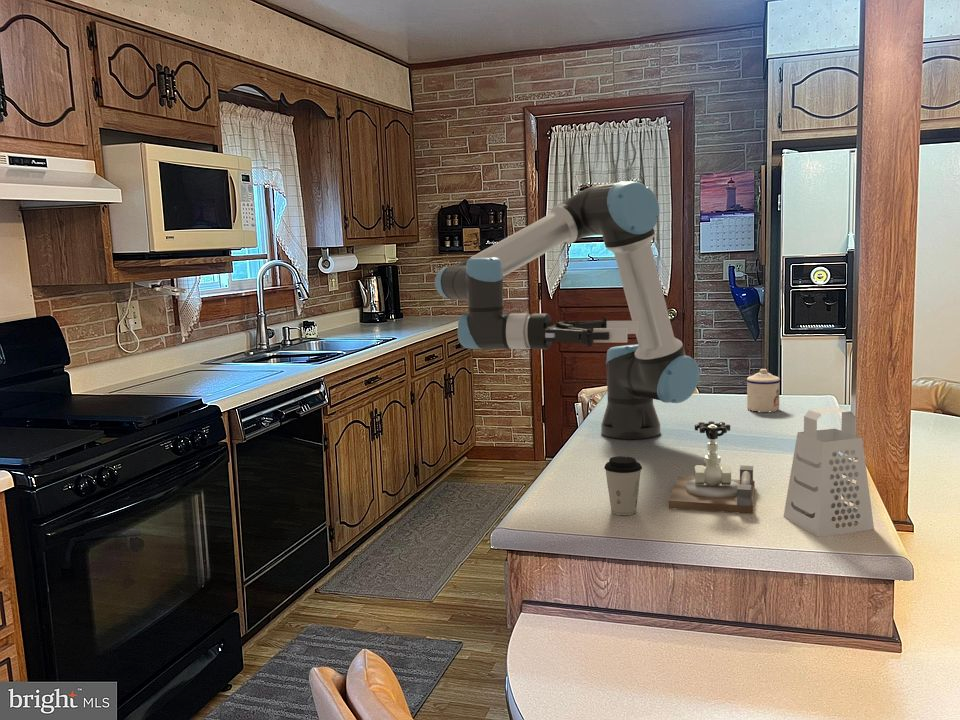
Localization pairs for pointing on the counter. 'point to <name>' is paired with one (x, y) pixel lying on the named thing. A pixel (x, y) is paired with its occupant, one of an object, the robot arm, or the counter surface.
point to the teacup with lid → (763, 392)
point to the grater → (828, 477)
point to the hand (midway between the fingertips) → (633, 331)
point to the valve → (712, 457)
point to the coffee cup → (623, 484)
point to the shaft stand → (715, 494)
